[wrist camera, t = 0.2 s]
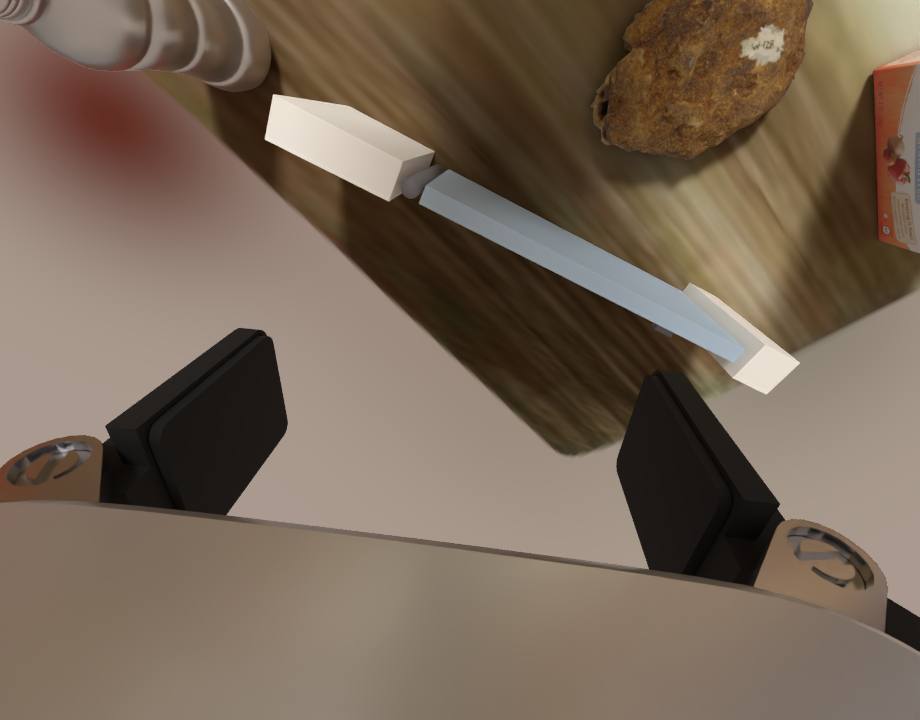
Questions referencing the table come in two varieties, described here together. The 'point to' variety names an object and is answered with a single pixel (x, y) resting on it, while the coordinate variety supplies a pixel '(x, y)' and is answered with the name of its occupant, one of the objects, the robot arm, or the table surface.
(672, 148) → the decorative rock
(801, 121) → the table surface
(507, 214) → the door
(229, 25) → the plastic bottle
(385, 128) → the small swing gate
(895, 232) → the cracker box
